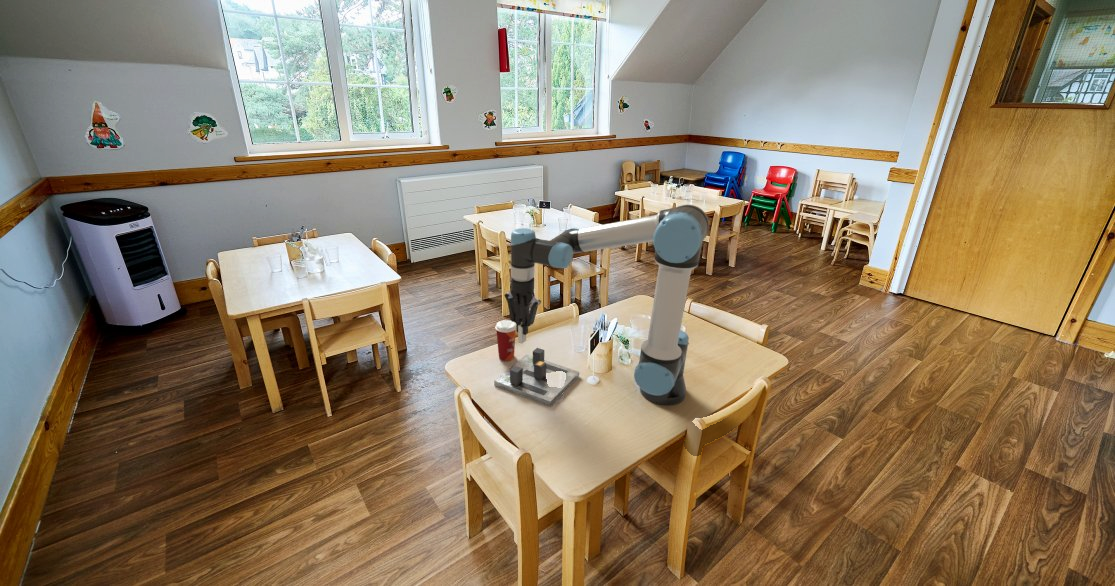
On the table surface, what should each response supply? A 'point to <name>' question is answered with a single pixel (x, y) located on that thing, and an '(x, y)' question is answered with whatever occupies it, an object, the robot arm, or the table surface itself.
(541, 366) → the block
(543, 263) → the robot arm
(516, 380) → the block
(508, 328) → the paper cup
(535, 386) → the panel
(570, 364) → the table surface
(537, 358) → the block
